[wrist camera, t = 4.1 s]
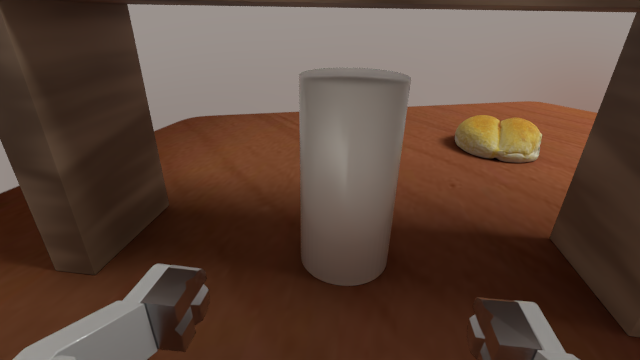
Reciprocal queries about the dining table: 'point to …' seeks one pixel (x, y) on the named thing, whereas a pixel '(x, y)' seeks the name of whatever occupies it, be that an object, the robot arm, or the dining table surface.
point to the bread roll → (499, 138)
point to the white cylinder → (349, 169)
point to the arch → (143, 159)
